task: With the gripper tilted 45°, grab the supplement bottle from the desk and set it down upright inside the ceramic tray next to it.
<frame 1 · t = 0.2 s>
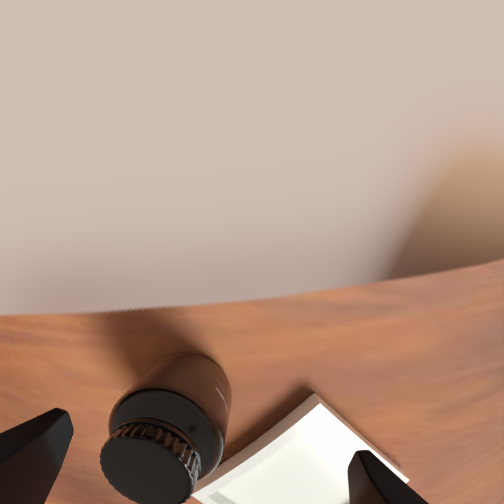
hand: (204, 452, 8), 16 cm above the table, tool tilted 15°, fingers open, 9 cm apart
supplement bottle: (189, 388, 23), on the table
ceramic tray: (303, 482, 23), on the table
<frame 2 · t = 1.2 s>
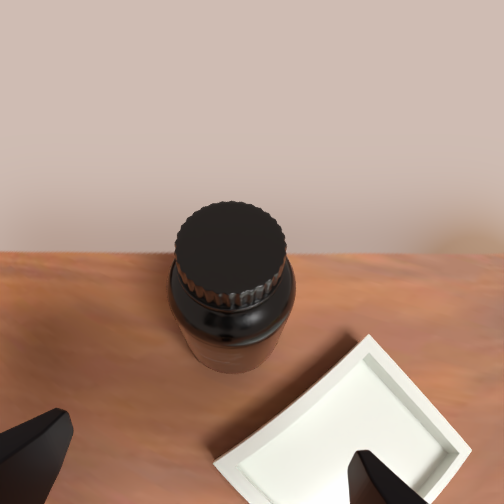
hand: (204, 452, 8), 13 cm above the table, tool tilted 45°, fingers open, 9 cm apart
supplement bottle: (231, 331, 24), on the table
ceramic tray: (352, 465, 18), on the table
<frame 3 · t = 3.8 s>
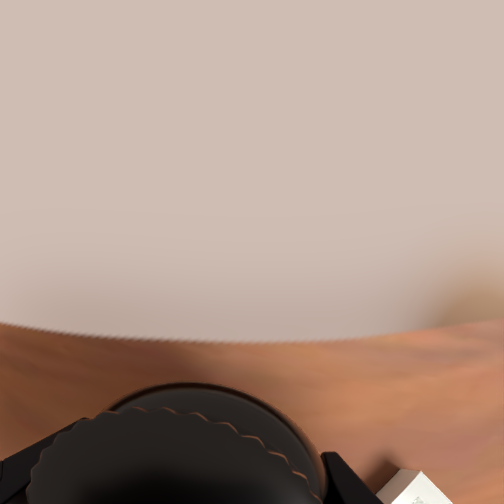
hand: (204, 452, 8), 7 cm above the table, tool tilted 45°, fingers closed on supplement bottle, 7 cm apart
supplement bottle: (214, 467, 13), on the table, touching gripper
when the fingers open (8 cm above the table, at t = 7.8 s): supplement bottle drops 1 cm, resting on ceramic tray.
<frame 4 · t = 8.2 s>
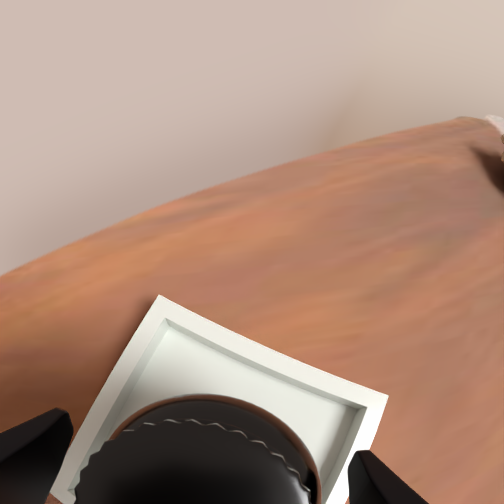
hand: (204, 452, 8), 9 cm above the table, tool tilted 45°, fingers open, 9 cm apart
supplement bottle: (218, 467, 14), resting on ceramic tray
ceramic tray: (215, 462, 14), on the table
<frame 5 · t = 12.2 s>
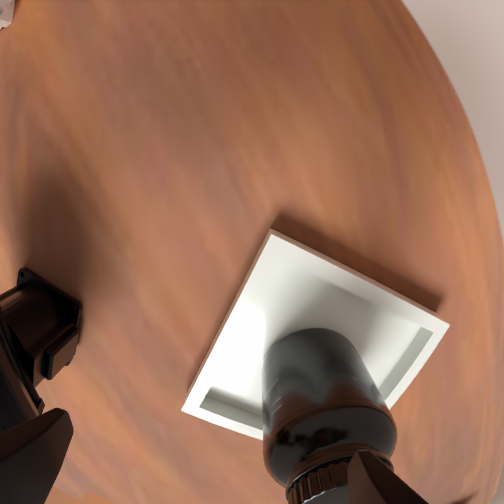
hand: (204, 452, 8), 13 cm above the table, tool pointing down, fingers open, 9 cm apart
supplement bottle: (310, 365, 21), resting on ceramic tray
ceramic tray: (313, 359, 21), on the table
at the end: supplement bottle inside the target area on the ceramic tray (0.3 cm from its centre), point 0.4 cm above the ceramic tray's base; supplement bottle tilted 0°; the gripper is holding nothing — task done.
